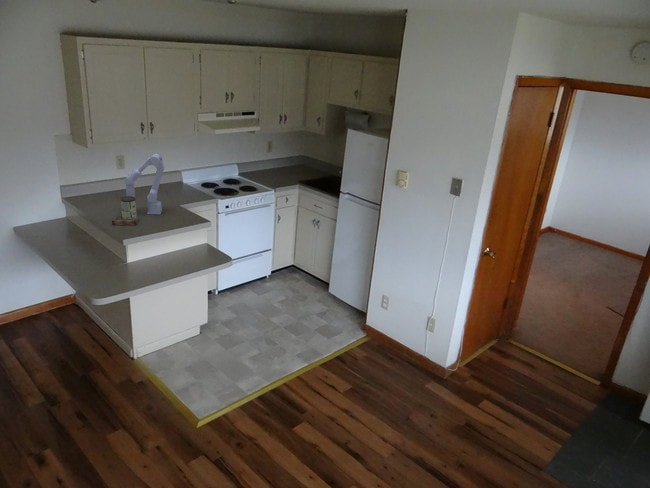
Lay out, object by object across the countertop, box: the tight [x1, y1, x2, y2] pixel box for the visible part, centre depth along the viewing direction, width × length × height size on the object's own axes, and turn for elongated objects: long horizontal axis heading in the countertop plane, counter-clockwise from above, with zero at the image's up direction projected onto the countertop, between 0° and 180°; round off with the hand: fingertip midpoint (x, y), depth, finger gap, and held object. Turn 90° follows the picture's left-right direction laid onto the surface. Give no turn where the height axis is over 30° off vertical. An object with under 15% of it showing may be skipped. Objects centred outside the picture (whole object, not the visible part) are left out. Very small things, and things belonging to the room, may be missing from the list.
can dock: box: [111, 215, 140, 226], centre depth 347 cm, size 16×10×3 cm, turn 99°
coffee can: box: [119, 195, 138, 220], centre depth 356 cm, size 10×10×14 cm
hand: (132, 210), depth 367 cm, fingers closed
